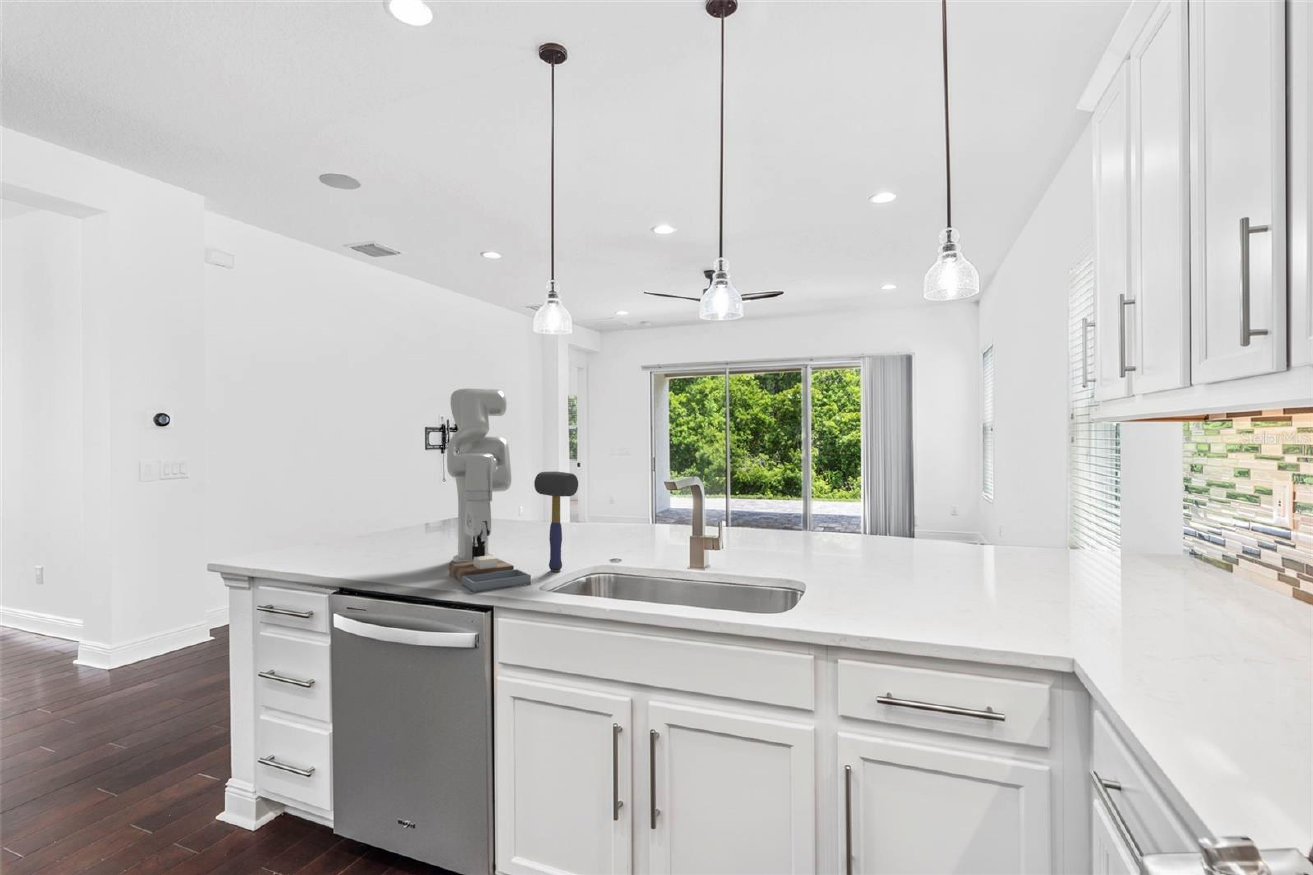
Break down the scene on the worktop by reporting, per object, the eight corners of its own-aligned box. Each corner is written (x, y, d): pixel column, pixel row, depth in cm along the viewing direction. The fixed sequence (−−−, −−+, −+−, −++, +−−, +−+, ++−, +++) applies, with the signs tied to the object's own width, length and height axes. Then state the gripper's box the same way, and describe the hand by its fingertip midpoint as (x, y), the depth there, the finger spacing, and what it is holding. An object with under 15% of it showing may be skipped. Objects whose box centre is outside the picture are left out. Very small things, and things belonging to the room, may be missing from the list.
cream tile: (473, 565, 176) (473, 557, 176) (490, 563, 179) (490, 555, 179) (479, 569, 172) (479, 560, 172) (497, 567, 175) (497, 558, 174)
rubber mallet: (579, 571, 186) (580, 471, 186) (563, 576, 179) (564, 472, 179) (547, 566, 192) (548, 470, 192) (531, 570, 186) (532, 471, 186)
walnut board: (449, 575, 179) (449, 563, 179) (495, 569, 187) (495, 557, 187) (464, 584, 168) (465, 571, 168) (513, 578, 176) (513, 565, 176)
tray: (461, 585, 167) (462, 576, 167) (517, 577, 177) (517, 569, 177) (473, 592, 160) (473, 582, 160) (530, 584, 169) (530, 575, 169)
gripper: (457, 495, 183) (457, 557, 183) (475, 499, 171) (474, 565, 171) (482, 494, 188) (481, 554, 187) (501, 497, 176) (500, 562, 175)
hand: (478, 559), depth 179 cm, fingers closed
